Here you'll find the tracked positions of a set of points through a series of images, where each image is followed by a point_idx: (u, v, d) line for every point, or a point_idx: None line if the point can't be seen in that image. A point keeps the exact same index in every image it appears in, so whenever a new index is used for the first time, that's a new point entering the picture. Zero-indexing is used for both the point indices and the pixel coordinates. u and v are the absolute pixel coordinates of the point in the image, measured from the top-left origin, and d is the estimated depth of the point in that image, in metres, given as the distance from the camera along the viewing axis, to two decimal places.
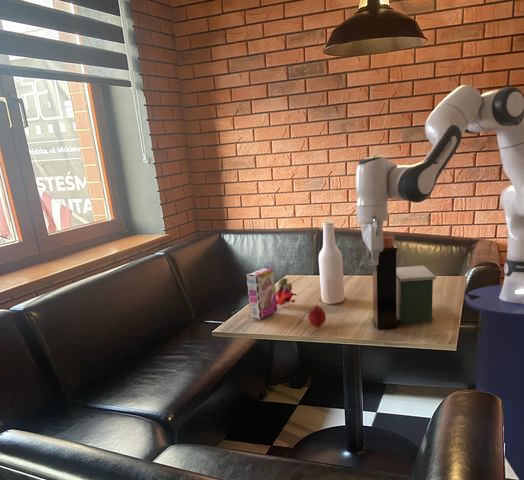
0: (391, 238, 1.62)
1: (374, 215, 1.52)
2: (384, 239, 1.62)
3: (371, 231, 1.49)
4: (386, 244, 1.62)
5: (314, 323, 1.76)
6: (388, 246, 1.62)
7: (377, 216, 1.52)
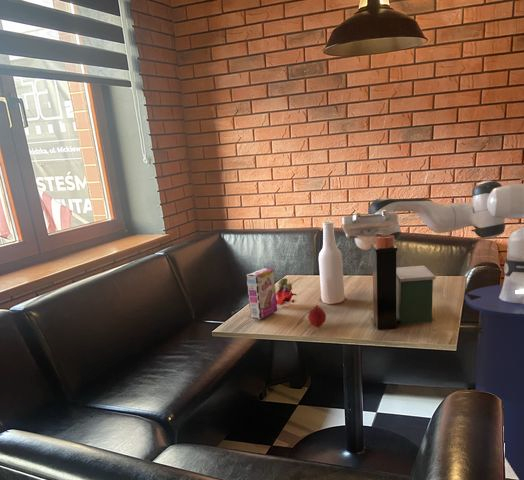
0: (391, 238, 1.62)
1: None
2: (384, 239, 1.62)
3: None
4: (386, 244, 1.62)
5: (314, 323, 1.76)
6: (388, 246, 1.62)
7: None
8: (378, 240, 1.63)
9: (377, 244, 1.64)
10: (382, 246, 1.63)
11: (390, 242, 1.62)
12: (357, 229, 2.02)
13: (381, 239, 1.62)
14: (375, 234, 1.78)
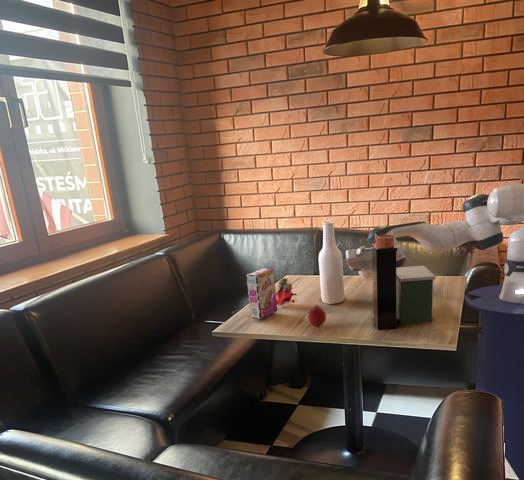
0: (391, 238, 1.62)
1: None
2: (384, 239, 1.62)
3: None
4: (386, 244, 1.62)
5: (314, 323, 1.76)
6: (388, 246, 1.62)
7: None
8: (378, 240, 1.63)
9: (377, 244, 1.64)
10: (382, 246, 1.63)
11: (390, 242, 1.62)
12: (361, 262, 1.95)
13: (381, 239, 1.62)
14: (375, 234, 1.78)
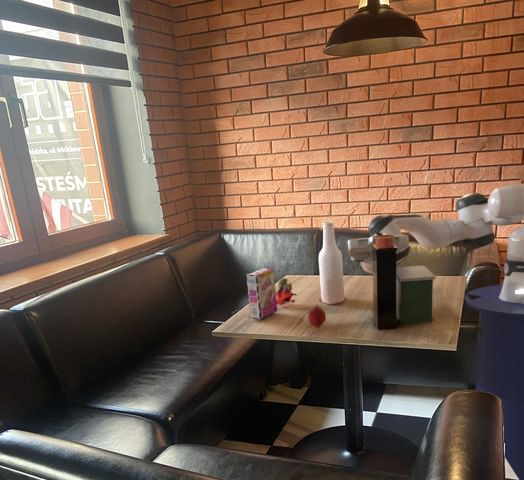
0: (391, 238, 1.62)
1: None
2: (384, 239, 1.62)
3: None
4: (386, 244, 1.62)
5: (314, 323, 1.76)
6: (388, 246, 1.62)
7: None
8: (378, 240, 1.63)
9: (377, 244, 1.64)
10: (382, 246, 1.63)
11: (390, 242, 1.62)
12: (364, 253, 1.84)
13: (381, 239, 1.62)
14: (375, 234, 1.78)
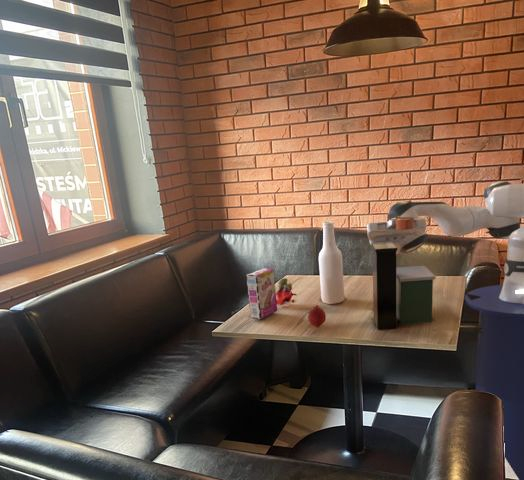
0: (411, 220, 1.68)
1: None
2: (405, 221, 1.67)
3: None
4: (407, 225, 1.68)
5: (314, 323, 1.76)
6: (408, 227, 1.68)
7: None
8: (399, 222, 1.69)
9: (398, 226, 1.69)
10: (403, 227, 1.68)
11: (410, 224, 1.68)
12: (382, 236, 1.90)
13: (402, 221, 1.68)
14: (394, 217, 1.83)
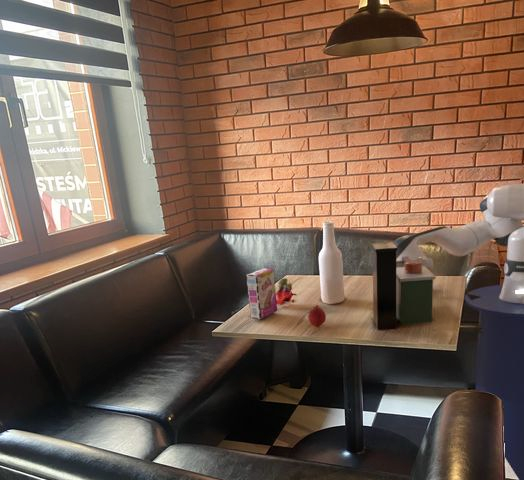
0: (419, 264, 1.72)
1: None
2: (413, 265, 1.72)
3: None
4: (415, 269, 1.72)
5: (314, 323, 1.76)
6: (417, 272, 1.73)
7: None
8: (407, 266, 1.73)
9: (406, 270, 1.74)
10: (411, 272, 1.73)
11: (418, 268, 1.72)
12: None
13: (410, 265, 1.72)
14: (402, 258, 1.88)
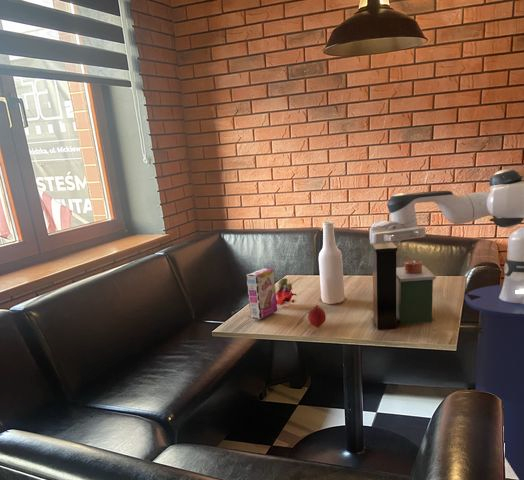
0: (419, 264, 1.72)
1: None
2: (413, 265, 1.72)
3: None
4: (415, 269, 1.72)
5: (314, 323, 1.76)
6: (417, 272, 1.73)
7: None
8: (407, 266, 1.73)
9: (406, 270, 1.74)
10: (411, 272, 1.73)
11: (418, 268, 1.72)
12: None
13: (410, 265, 1.72)
14: (402, 258, 1.88)
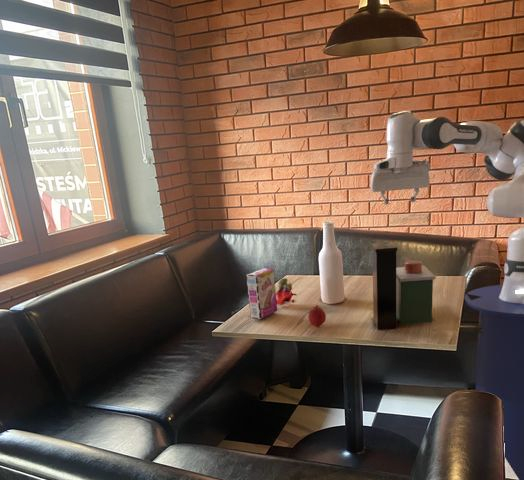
0: (419, 264, 1.72)
1: None
2: (413, 265, 1.72)
3: (427, 169, 1.85)
4: (415, 269, 1.72)
5: (314, 323, 1.76)
6: (417, 272, 1.73)
7: None
8: (407, 266, 1.73)
9: (406, 270, 1.74)
10: (411, 272, 1.73)
11: (418, 268, 1.72)
12: None
13: (410, 265, 1.72)
14: (402, 258, 1.88)
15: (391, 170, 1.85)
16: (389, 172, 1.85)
